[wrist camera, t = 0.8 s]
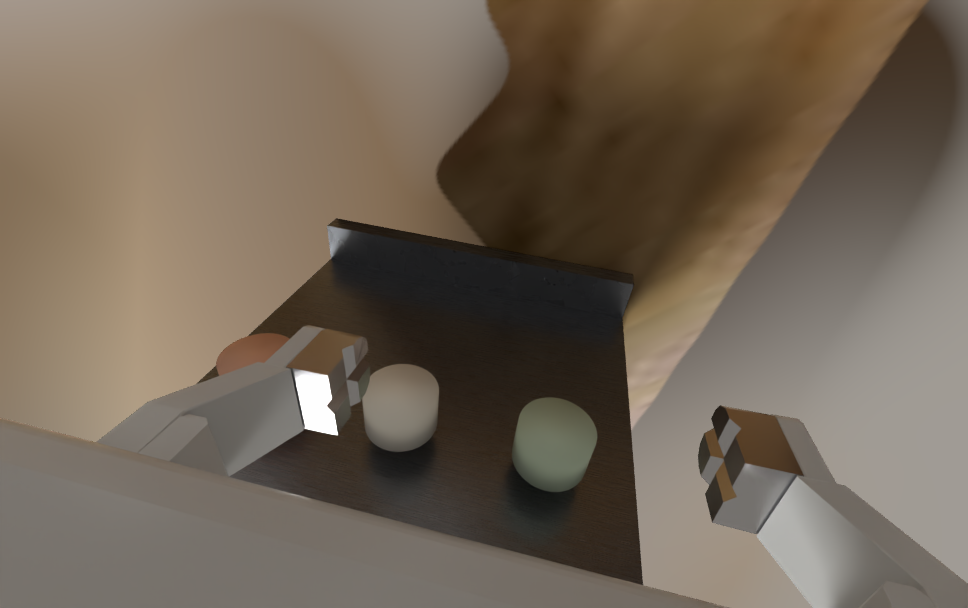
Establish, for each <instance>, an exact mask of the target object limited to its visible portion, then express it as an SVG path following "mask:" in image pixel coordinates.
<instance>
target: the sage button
mask: <svg viewBox="0 0 968 608" xmlns="http://www.w3.org/2000/svg"><path fill="white" fill-rule="evenodd" d="M596 442H597V431H596V427H595V425H594V423H593V421H592V419H591V418H590V416H589V415H588V414H587V413H586V412H585V411H584V410H583V409H581V408H580V407H579V406H577V405H575V404H573V403H571V402H569V401H567V400H564V399H560V398H553V397H546V398H540V399H536V400H533V401H532V402H530V403H528V404H527V405H526V406H525V407H524V408H523V409H522V411H521V413H520V415H519V419H518V424H517V428H516V433H515V438H514V442H513V447H512V460H513V464H514V466H515V468H516V470H517V472H518V473H519V474H520V476H521V477H522V478H523V479H524V480H525V481H527V482H528V483H529V484H531V485H533V486H534V487H536V488H539V489H541V490H544V491H549V492H562V491H566V490H569V489H571V488H573V487H575V486H576V485H577V484H578V483H579V482H580V481H581V480H582V478H583V476H584V474H585V471H586V469H587V466H588V464H589V461H590V458H591V456H592V453H593V451H594V448H595V446H596Z"/></svg>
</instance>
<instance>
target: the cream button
mask: <svg viewBox="0 0 968 608" xmlns="http://www.w3.org/2000/svg"><path fill="white" fill-rule="evenodd" d="M438 401H439V386H438V383H437V381H436V379H435V377H434V376H433V375H432V374H431V373H430V372H428V371H427V370H425V369H423V368H421V367H419V366H415V365H410V364H395V365H390V366H387V367H384V368H382V369H380V370H378V371H376V372H375V373H373V374H372V375H371V376H370V381H369V385H368V388H367V390H366V393H365V395H364V396H363V398H362V402H363V413H364V424H365V431H366V434H367V436H368V438H369V439H370V440H371V441H372V442H373V443H374V444H375V445H376V446H378V447H380V448H382V449H385V450H388V451H394V452H403V451H409V450H413V449H415V448H418V447H420V446H422V445H423V444H425V443H426V442H427V441H428V440H429V439H430V438H431V437H432V436H433V434H434V432H435V430H436V427H437V420H438Z"/></svg>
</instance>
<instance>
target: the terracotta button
mask: <svg viewBox="0 0 968 608" xmlns="http://www.w3.org/2000/svg"><path fill="white" fill-rule="evenodd" d="M288 340H289V338H288V337H286V336H283V335H280V334H274V333H262V334H255V335H251V336H247V337H245V338H241V339H239V340H237V341H236V342H233V343H232V344H230V345H229V346H228V347H226V348H225V349H224V350H223V351H222V352H221V354H220V355H219V357H218V359H217V362H216V368H217V371H218V374H219V376H221V375H223V374H226V373H229V372H232V371H235V370H237V369H240V368H243V367H246V366H248V365H251V364H254V363H257V362H261V363H265V362H266V361H267V360H268V359H269V358H270V357H271V356H272V355H273V354H274V353H275V352H276V351H278V350H279V349H280V348H281V347H282V346H283V345H284V344H285V343H286V342H287V341H288Z"/></svg>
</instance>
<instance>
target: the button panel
mask: <svg viewBox="0 0 968 608" xmlns="http://www.w3.org/2000/svg"><path fill="white" fill-rule="evenodd" d="M327 228H328V237H329V245H330V253H331V259H330V260H329V261H328V262H327V263H326V264H325V265H324V266H323V267H322V268H321V269H320V270H319V271H317V272H316V273H315V274H314V275H313V276H312V277H311V278H310V279H309V280H308V281H307V282H306V283H305V284H304V285H302V286H301V287H300V288H299V289H298V290H297V291H296V292H295V293H294V294H293V295H292V296H291V297H289V298H288V299H287V300H286V301H285V302H284V303H283V304H282V305H281V306H280V307H279V308H278V309H277V310H275V311H274V312H273V313H272V314H271V315H270V316H269V317H268V318H267V319H266V320H265V321H264V322H263V323H262V324H260V326H258V327H257V328H256V329H255V330H254V331H253V332H252V333H251V334H250V335H249V336H251V335H255V334H262V333H274V334H280V335H283V336H286V337H288V338H289V339H290V338H291V337H293V336H294V335H295V334H296V333H297V332H298V331H299V330H300V329H301V328H302V327H304V326H308V325H310V326H315V327H319V328H324V329H330V330H335V331H339V332H344V333H349V334H353V335H358V336H362V337H364V338H365V339H366V340H367V345H368V352H367V353H366V355H365V356H364V358H365V360H366V361H367V362H368V364H369V365H370V376H371V375H372V374H373V373H375V372H376V371H378V370H380V369H382V368H384V367H387V366H390V365H395V364H410V365H415V366H419V367H421V368H423V369H425V370H427V371H428V372H430V373H431V374H432V375H433V376H434V377H435V379H436V381H437V383H438V386H439V401H438V420H437V427H436V430H435V432H434V434H433V436H432V437H431V438H430V439H429V440H428V441H427V442H426V443H425V444H423V445H422V446H420V447H418V448H415V449H413V450H409V451H403V452H394V451H388V450H385V449H382V448H380V447H378V446H376V445H375V444H374V443H373V442H372V441H371V440H370V439H369V438H368V436H367V434H366V431H365V424H364V413H363V402H362V399H361V401H360V402H359V403H357V404H355V405H353V406H351V407H350V409H351V416H350V417H349V419H348V420H347V422H346V423H345V425H344V426H343V428H342V429H341V431H340V432H339V433H338V435H334V434H329V433H324V432H319V431H315V430H310V429H305V428H304V430H303V431H302V432H300V433H299V434H297V435H295V436H294V437H292V438H291V439H289V440H287V441H286V442H284V443H283V444H281V445H279V446H278V447H276V448H275V449H273V450H271V451H270V452H268V453H266V454H265V455H263V456H262V457H260V458H258V459H257V460H255V461H254V462H252V463H250V464H249V465H247V466H246V467H244V468H242V469H241V470H239V471H237V472H236V473H234V474H233V475H231V476H229V477H231V478H235V479H239V480H242V481H246V482H250V483H254V484H258V485H262V486H265V487H269V488H273V489H277V490H281V491H284V492H288V493H292V494H296V495H300V496H304V497H307V498H311V499H315V500H319V501H323V502H327V503H330V504H334V505H338V506H342V507H346V508H350V509H353V510H357V511H361V512H365V513H369V514H373V515H376V516H380V517H384V518H388V519H392V520H395V521H399V522H403V523H407V524H411V525H415V526H418V527H422V528H426V529H430V530H434V531H437V532H441V533H445V534H449V535H453V536H457V537H460V538H464V539H468V540H472V541H476V542H479V543H483V544H487V545H491V546H495V547H499V548H502V549H506V550H510V551H514V552H518V553H521V554H525V555H529V556H533V557H537V558H540V559H544V560H548V561H552V562H556V563H560V564H563V565H567V566H571V567H575V568H579V569H583V570H587V571H590V572H594V573H598V574H602V575H606V576H610V577H613V578H617V579H621V580H625V581H629V582H633V583H636V584H640V585H643V580H642V567H641V554H640V541H639V528H638V515H637V502H636V489H635V476H634V463H633V452H632V438H631V424H630V411H629V398H628V385H627V372H626V359H625V346H624V333H623V320H622V317H623V314H624V311H625V309H626V306H627V303H628V300H629V297H630V294H631V292H632V289H633V286H634V282H633V275H632V274H626V273H621V272H616V271H610V270H605V269H600V268H595V267H589V266H584V265H579V264H574V263H568V262H563V261H558V260H553V259H547V258H542V257H537V256H532V255H526V254H521V253H516V252H510V251H505V250H500V249H495V248H489V247H484V246H479V245H474V244H468V243H463V242H457V241H452V240H447V239H442V238H437V237H432V236H426V235H421V234H416V233H411V232H405V231H400V230H395V229H389V228H384V227H379V226H374V225H368V224H363V223H358V222H352V221H347V220H342V219H335V220H334V221H333V222H331V223H330V224H329V225H328V226H327ZM218 376H219V374H218V371H217V368H216V366H215V367H214V368H213V369H212V370H211V371H210V372H209V373H208V374H206V375H205V376H204V377H203V378H202V379H201V380H200V381H199V382H198V383H197V384H199V383H201V382H204V381H207V380H210V379H212V378H215V377H218ZM546 397H553V398H560V399H564V400H567V401H569V402H571V403H573V404H575V405H577V406H579V407H580V408H581V409H583V410H584V411H585V412H586V413H587V414H588V415H589V416H590V418H591V419H592V421H593V423H594V425H595V427H596V431H597V442H596V446H595V448H594V451H593V453H592V456H591V458H590V461H589V464H588V466H587V469H586V471H585V474H584V476H583V478H582V480H581V481H580V482H579V483H578V484H577V485H576V486H575V487H573V488H571V489H569V490H566V491H562V492H549V491H544V490H541V489H539V488H536V487H534V486H533V485H531V484H529V483H528V482H527V481H525V480H524V479H523V478H522V477H521V476H520V474H519V473H518V472H517V470H516V468H515V466H514V464H513V460H512V447H513V442H514V438H515V433H516V428H517V424H518V419H519V415H520V413H521V411H522V409H523V408H524V407H525V406H526V405H527V404H528V403H530V402H532V401H533V400H536V399H540V398H546Z"/></svg>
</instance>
